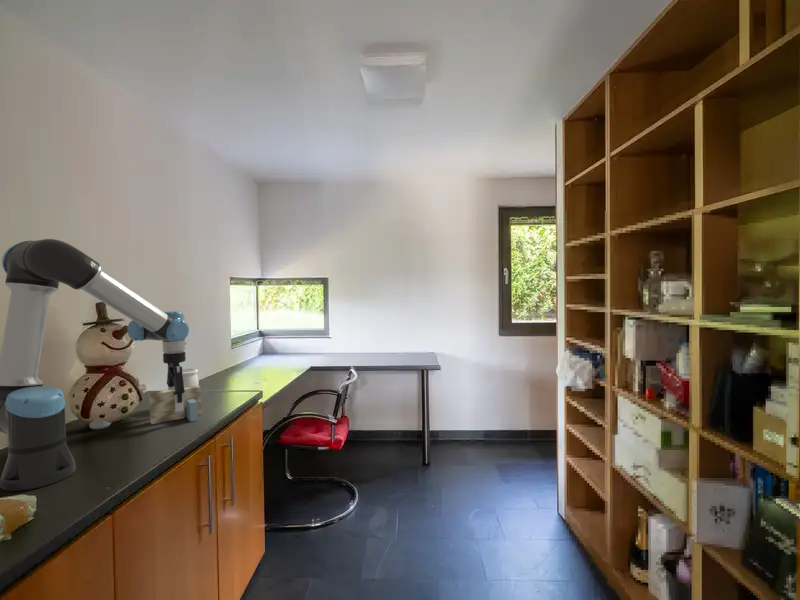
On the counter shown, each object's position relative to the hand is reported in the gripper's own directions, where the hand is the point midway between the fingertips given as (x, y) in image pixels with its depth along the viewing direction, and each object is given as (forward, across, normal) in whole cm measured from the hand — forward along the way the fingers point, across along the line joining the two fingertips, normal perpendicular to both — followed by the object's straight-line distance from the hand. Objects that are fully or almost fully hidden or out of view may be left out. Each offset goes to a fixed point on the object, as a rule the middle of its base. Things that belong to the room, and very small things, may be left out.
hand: (175, 407), depth 162 cm
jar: (+4, +17, -7) cm, 19 cm away
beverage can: (+5, +7, +23) cm, 25 cm away
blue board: (+4, 0, -5) cm, 6 cm away
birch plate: (+4, 0, 0) cm, 4 cm away
